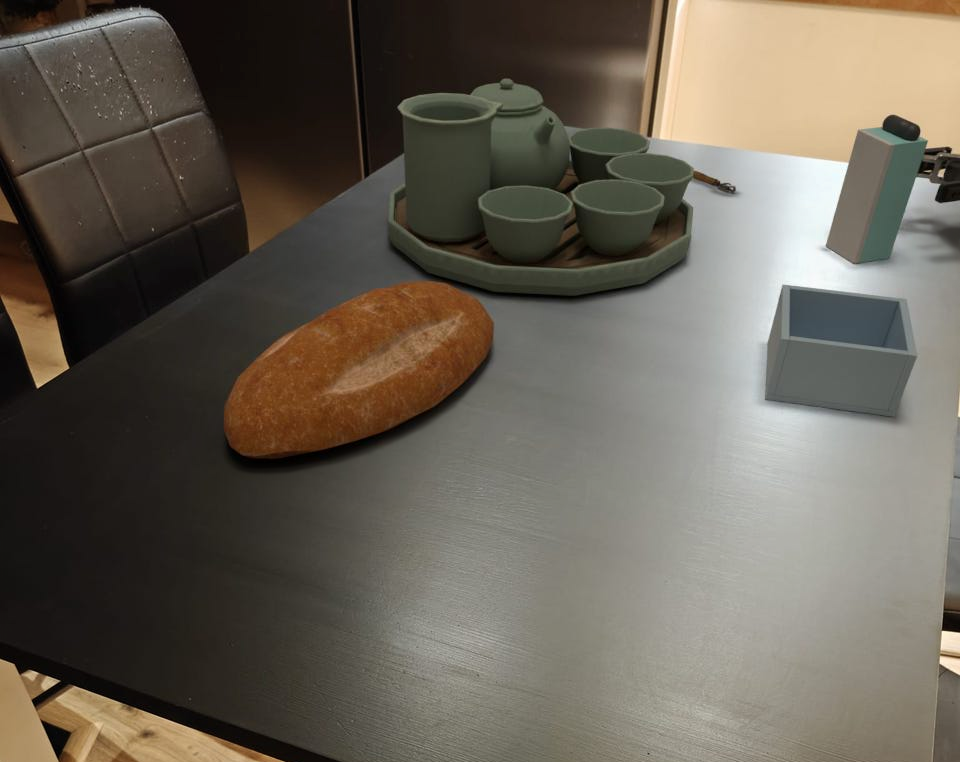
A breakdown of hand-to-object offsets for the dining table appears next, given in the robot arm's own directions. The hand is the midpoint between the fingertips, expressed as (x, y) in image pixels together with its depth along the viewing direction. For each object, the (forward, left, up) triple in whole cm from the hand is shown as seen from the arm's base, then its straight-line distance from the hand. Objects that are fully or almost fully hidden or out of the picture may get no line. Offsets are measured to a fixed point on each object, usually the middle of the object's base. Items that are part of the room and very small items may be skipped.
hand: (915, 181), depth 118 cm
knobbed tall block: (+5, +4, -8) cm, 10 cm away
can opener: (+25, -16, -9) cm, 31 cm away
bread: (+55, +54, -8) cm, 77 cm away
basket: (+9, +39, -8) cm, 41 cm away
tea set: (+46, +10, -8) cm, 48 cm away
